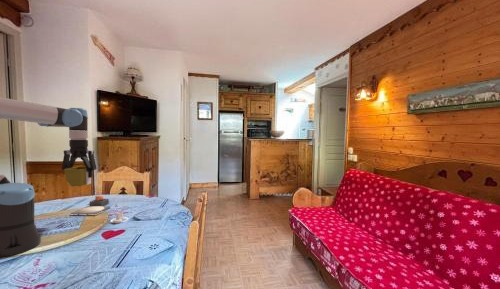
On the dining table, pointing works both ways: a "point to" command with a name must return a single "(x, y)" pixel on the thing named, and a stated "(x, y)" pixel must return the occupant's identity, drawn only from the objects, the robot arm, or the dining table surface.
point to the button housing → (99, 202)
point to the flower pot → (76, 176)
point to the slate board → (91, 210)
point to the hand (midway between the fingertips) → (79, 183)
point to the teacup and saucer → (119, 218)
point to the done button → (99, 198)
